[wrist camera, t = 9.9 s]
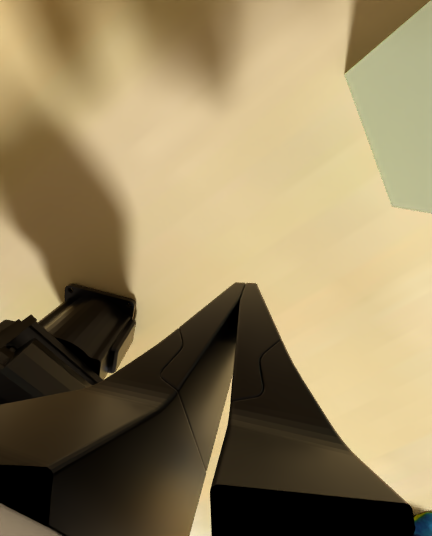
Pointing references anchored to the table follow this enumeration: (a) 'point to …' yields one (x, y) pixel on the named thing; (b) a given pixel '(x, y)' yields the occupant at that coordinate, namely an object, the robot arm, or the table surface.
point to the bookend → (399, 110)
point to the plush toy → (423, 524)
